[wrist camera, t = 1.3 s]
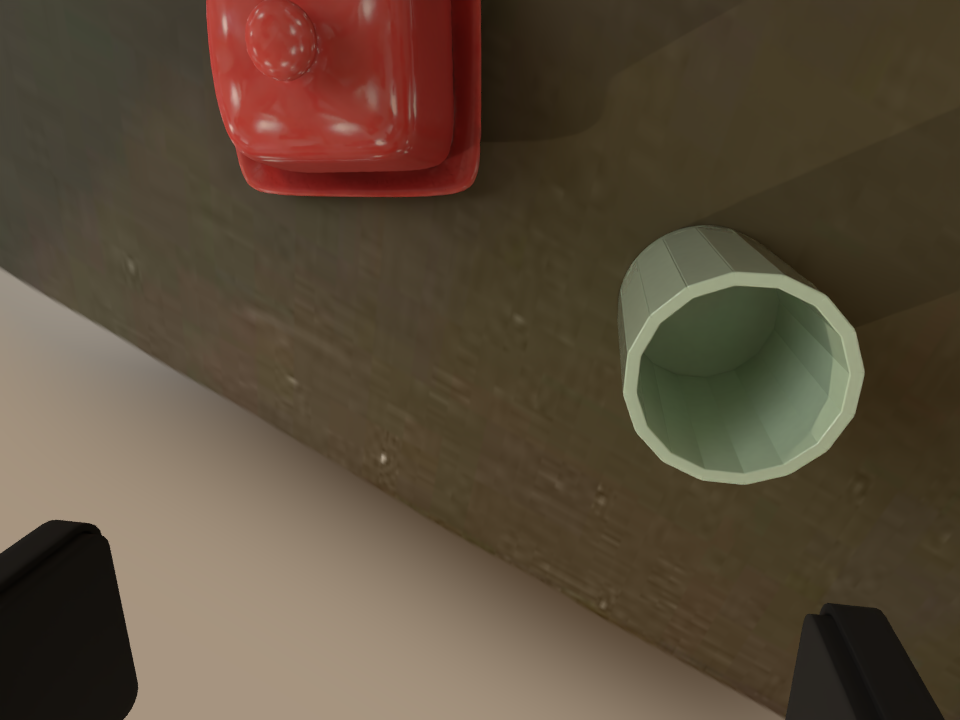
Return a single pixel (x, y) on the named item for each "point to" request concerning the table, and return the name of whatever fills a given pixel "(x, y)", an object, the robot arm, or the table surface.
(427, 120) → the butter dish
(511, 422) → the table surface
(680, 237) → the cup
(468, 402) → the table surface
